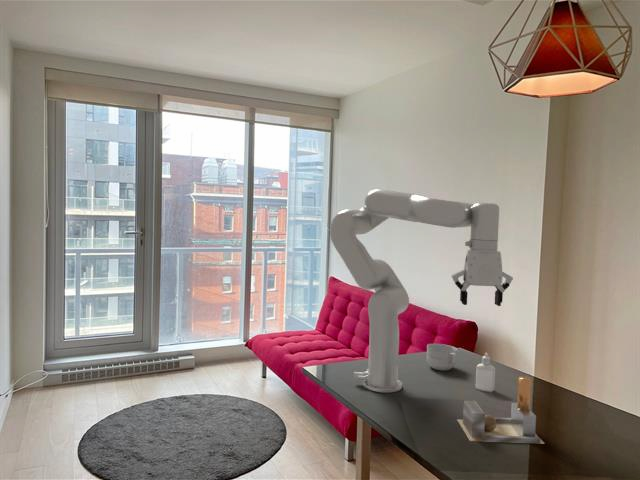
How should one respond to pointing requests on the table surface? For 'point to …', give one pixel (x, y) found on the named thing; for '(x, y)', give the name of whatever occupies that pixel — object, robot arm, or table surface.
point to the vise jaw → (523, 409)
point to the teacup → (441, 356)
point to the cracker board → (502, 432)
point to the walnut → (489, 423)
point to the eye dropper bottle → (485, 375)
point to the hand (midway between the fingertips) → (480, 304)
